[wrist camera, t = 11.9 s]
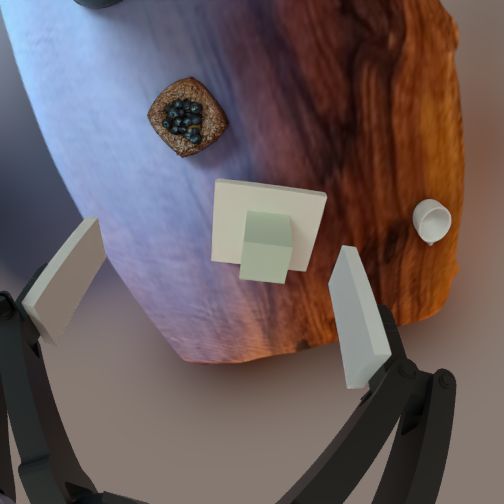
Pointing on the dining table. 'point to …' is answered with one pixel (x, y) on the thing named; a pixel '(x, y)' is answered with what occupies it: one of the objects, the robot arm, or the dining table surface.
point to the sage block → (266, 247)
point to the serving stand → (264, 200)
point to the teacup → (431, 220)
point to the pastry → (187, 117)
